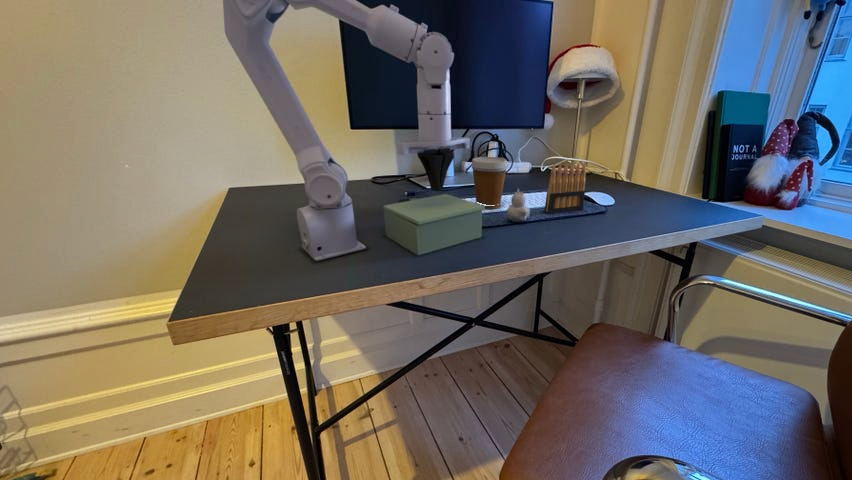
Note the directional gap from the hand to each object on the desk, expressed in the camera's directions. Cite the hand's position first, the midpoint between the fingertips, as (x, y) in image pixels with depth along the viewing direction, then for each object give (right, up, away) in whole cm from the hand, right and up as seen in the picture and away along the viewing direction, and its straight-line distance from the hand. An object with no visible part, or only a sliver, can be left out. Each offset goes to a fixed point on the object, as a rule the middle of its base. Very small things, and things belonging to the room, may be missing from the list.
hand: (436, 190), depth 71 cm
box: (-1, -8, +6) cm, 11 cm away
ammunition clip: (+30, 0, +25) cm, 39 cm away
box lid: (-1, -3, +3) cm, 5 cm away
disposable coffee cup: (+11, +2, +27) cm, 29 cm away
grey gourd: (+17, -4, +16) cm, 24 cm away
